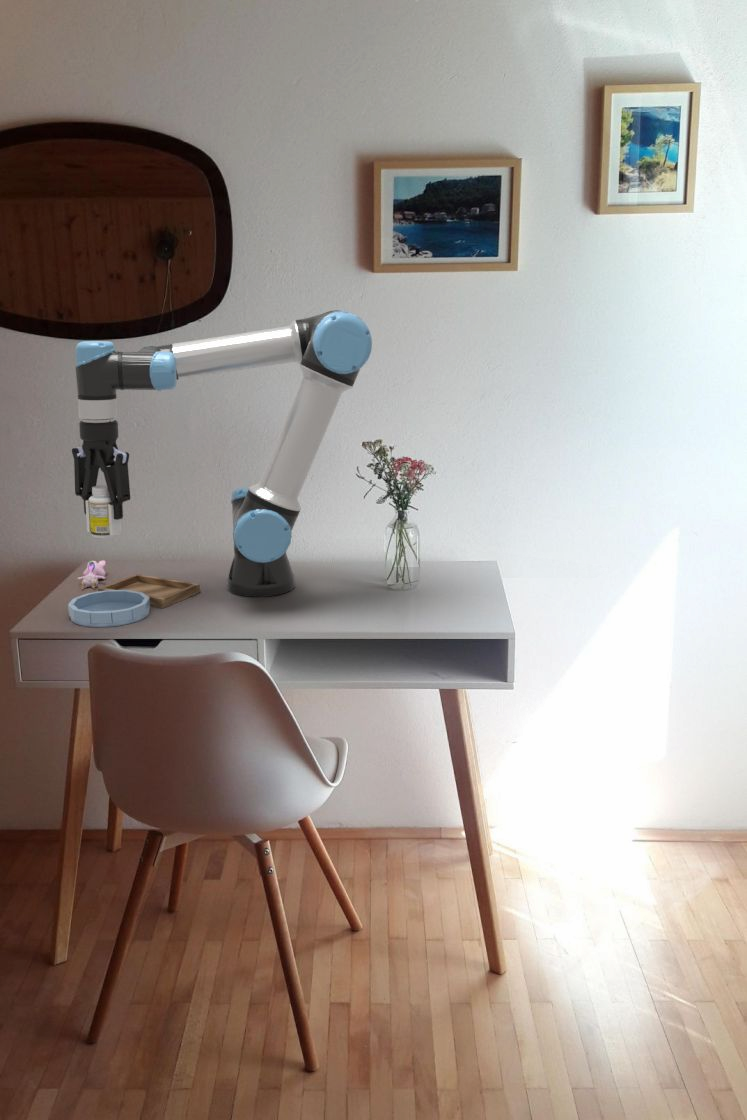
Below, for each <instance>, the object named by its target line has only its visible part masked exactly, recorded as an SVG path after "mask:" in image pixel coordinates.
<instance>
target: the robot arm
mask: <svg viewBox="0 0 747 1120" xmlns="http://www.w3.org/2000/svg"><path fill="white" fill-rule="evenodd" d="M372 348H373V339H372V335H371V331H370V329H369V327H368V326H367V324H366V323H365V321H363V319H362V318H361V317H359V316H358V315H355V314H354V313H351V312H348V311H342V310H329V311H326V312H323V313H319V314H317V315H313V316H310V317H307V318H306V317H305V318H300V319H294V320H292V322H291V323H290V324H289V325H286V326H282V327H281V326H280V327H274V328H273V327H272V328H269V329H260V330H254V331H248V332H247V331H246V332H242V333H236V334H229V335H222V336H215V337H209V338H202V339H197V340H189V341H183V342H176V343H172V344H171V343H170V344H164V345H163V344H162V345H156V346H155V345H150V346H149V345H148V346H145V347H142V348H140V349H139V350H138V351H119V350H116V349H115V344H114V343H113V342H112V341H109V340H108V341H105V340H84V341H80V342H78V343H77V344H76V346H75V365H74V366H75V367H74V368H75V377H76V387H77V404H78V405H77V407H78V408H77V409H78V411H77V412H78V418H79V419H80V420H81V421H80V422H79V423H78V426H79V438H80V440H82V445H81V446H79V447H74V448H72V449H71V453H72V457H73V464H74V465H73V467H74V469H73V470H74V471H73V472H74V493H75V496H76V497H78V496H79V497H81V499H82V500H83V511H84V512H83V513H84V515H85V518H86V531H87V532H88V533H91V526H90V511H89V498H90V497H91V496H93V495H92V487H94V486H97V483H98V477H99V473H100V472H99V471H101V472H102V473H103V476H104V480H105V483H106V486H107V488H108V492H109V495H110V499H111V502H109V504H108V511H109V530H110V536H114V535H117V536H118V535H121V534H123V532H122V531H123V529H122V520H123V519H124V518H123V517H124V510H123V504H124V503H125V502H128V501H130V500H131V490H130V489H131V488H130V474H129V459H130V453H129V452H128V451H125V452H123V451H121V450H119V448H118V445H117V440H118V439H119V422H118V421H117V420H116V419H117V417H118V406H117V404H118V403H117V400H118V399H117V397H118V396H117V390H118V391H119V390H120V391H124V390H126V391H127V390H131V391H133V390H134V391H135V390H136V391H139V390H140V391H158V392H161V391H166V390H167V391H168V390H170V391H171V390H174V389H175V388H176V386H177V380H184V379H189V378H190V379H191V378H197V377H202V376H204V377H205V376H210V375H217V374H223V373H229V372H236V371H237V372H238V371H243V370H250V369H255V368H261V367H269V366H276V365H282V364H289V363H296V364H298V365H299V367H300V369H301V372H302V375H303V376H302V379H301V381H300V383H299V386H298V388H297V390H296V393H295V394H294V395H295V396H294V398H293V400H292V402H291V405H290V407H289V410H288V411H287V415H286V417H285V420H284V422H283V424H282V426H281V429H280V432H279V434H278V437H277V439H276V441H275V444H274V446H273V449H272V451H271V454H270V456H269V458H268V461H267V463H266V464H265V465H266V466H265V469H264V470H263V473H262V475H261V478H260V480H259V482H257V483H256V484H254V485H251V486H249V487H239V488H238V487H237V488H234V489H233V491H232V493H231V499H230V504H231V507H232V509H231V510H232V539H233V558H232V563H231V566H230V570H229V573H228V576H227V590H228V591H229V592H230V593H232V594H235V595H239V596H243V597H256V598H259V597H273V596H278V594H279V595H282V594H281V593H283V594H286V593H288V592H287V591H289V590H291V589H292V590H294V589H295V587H296V582H295V581H296V579H295V574H294V572H293V569H292V566H291V563H290V560H289V558H288V555H287V554H288V553H287V550H288V549H289V546H290V545H291V542H292V533H293V532H292V531H293V529H294V527H295V525H296V521H297V518H298V516H299V514H300V513H301V509H302V507H301V505H300V502H299V499H298V498H299V496H300V493H301V492H302V489H303V486H304V484H305V481H306V479H307V476H308V474H309V472H310V470H311V467H312V465H313V463H314V460H315V458H316V455H317V453H318V451H319V449H320V446H321V444H322V441H323V438H324V436H325V434H326V432H327V429H328V427H329V425H330V423H331V421H332V418H333V416H334V412H335V410H336V408H337V405H338V403H339V401H340V399H341V396H342V394H343V393H344V392H346V391H348V390H350V389H352V388H353V386H354V385H355V382H356V380H357V378H358V375H359V373H360V370H361V369H362V368H363V367H364V365H365V364H366V363H367V362H368V360H369V359H370V356H371V353H372V350H373V349H372ZM294 586H295V587H294ZM293 588H294V589H293ZM292 590H291V591H292ZM285 592H286V593H285ZM289 592H290V591H289Z"/></svg>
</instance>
